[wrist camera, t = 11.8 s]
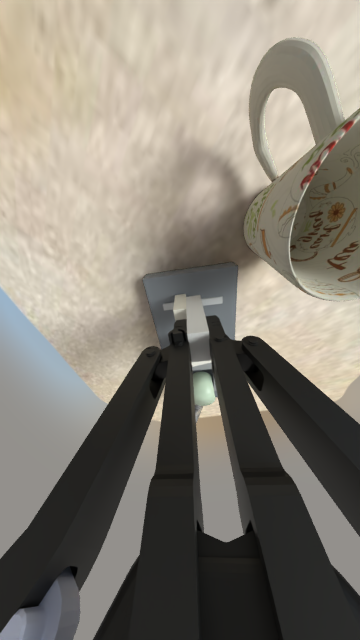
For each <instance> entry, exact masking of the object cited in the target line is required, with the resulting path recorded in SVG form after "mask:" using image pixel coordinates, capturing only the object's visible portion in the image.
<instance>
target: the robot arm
mask: <svg viewBox="0 0 360 640" xmlns="http://www.w3.org/2000/svg"><path fill="white" fill-rule="evenodd" d="M186 313H187V319H182V320H176V322H175V323H174V329H173V330H171V331H170V332H169V333H168V337H169V341H170V345H169V346H168V347H166V348H163V349H161V350H160V349H159V348H158V347H155V346H152V347H148V348H146V349H145V350H144V351H143V352H142V353H141V354H140V356H139V358H138V359H137V361H136V362H135V364H134V365H133V367H132V368H131V370H130V371H129V373H128V374H127V376H126V378H125V379H124V381H123V382H122V384H121V385H120V387H119V388H118V390H117V391H116V393H115V394H114V396H113V398H112V399H111V401H110V402H109V404H108V405H107V407H106V408H105V410H104V411H103V413H102V414H101V416H100V418H99V419H98V421H97V423H96V424H95V425H94V427H93V428H92V430H91V431H90V433H89V435H88V436H87V438H86V439H85V441H84V442H83V444H82V445H81V447H80V448H79V450H78V452H77V453H76V455H75V456H74V458H73V459H72V461H71V462H70V464H69V465H68V467H67V469H66V470H65V472H64V473H63V475H62V476H61V478H60V479H59V481H58V482H57V484H56V485H55V487H54V488H53V490H52V492H51V493H50V495H49V496H48V498H47V499H46V501H45V502H44V504H43V505H42V507H41V508H40V510H39V511H38V513H37V515H36V516H35V518H34V519H33V521H32V522H31V524H30V525H29V527H28V528H27V529H26V530H25V531H24V533H23V534H22V535H21V536H20V537H19V538H18V539H17V541H16V542H15V543H14V544H13V545H12V546H11V547H10V549H9V550H8V551H7V552H6V553H5V554H4V555H3V557H2V558H1V559H0V640H73V637H74V635H75V633H76V630H77V626H78V624H79V618H80V595H79V591H80V589H81V588H82V586H83V584H84V582H85V580H86V579H87V577H88V575H89V573H90V571H91V569H92V567H93V565H94V563H95V561H96V559H97V557H98V554H99V552H100V550H101V548H102V545H103V543H104V541H105V538H106V536H107V533H108V531H109V529H110V526H111V523H112V521H113V518H114V515H115V513H116V510H117V508H118V505H119V503H120V500H121V497H122V495H123V492H124V490H125V487H126V484H127V481H128V479H129V477H130V474H131V471H132V468H133V466H134V463H135V461H136V458H137V455H138V453H139V450H140V448H141V445H142V443H143V440H144V437H145V435H146V432H147V430H148V427H149V424H150V422H151V419H152V417H153V414H154V411H155V409H156V406H157V404H158V401H159V398H160V396H161V393H162V391H163V388H164V385H165V393H164V401H163V410H162V419H161V428H160V436H159V445H158V454H157V463H156V470H155V474H154V476H153V478H152V479H151V482H150V486H149V491H148V497H147V504H146V511H145V519H144V526H143V535H142V541H141V549H140V555H139V556H138V558H137V559H136V561H135V562H134V564H133V565H132V567H131V569H130V571H129V573H128V574H127V576H126V578H125V580H124V582H123V584H122V585H121V587H120V589H119V591H118V593H117V595H116V597H115V599H114V601H113V603H112V605H111V607H110V608H109V610H108V612H107V614H106V616H105V618H104V620H103V622H102V623H101V626H100V627H99V629H98V631H97V633H96V635H95V637H94V639H93V640H360V596H359V595H358V593H357V592H356V591H355V590H354V589H353V588H352V586H351V585H350V584H349V583H348V582H347V581H346V579H345V578H344V577H343V576H342V575H341V574H340V573H339V572H338V571H337V570H336V569H335V568H334V567H333V566H332V565H331V563H330V561H329V559H328V556H327V554H326V552H325V549H324V547H323V545H322V542H321V540H320V538H319V536H318V533H317V531H316V529H315V526H314V525H313V522H312V519H311V517H310V515H309V513H308V510H307V508H306V506H305V504H304V501H303V499H302V497H301V494H300V493H299V490H298V488H297V486H296V484H295V483H294V481H293V480H292V478H291V477H290V476H289V475H288V474H287V473H286V472H285V470H284V469H283V467H282V465H281V463H280V460H279V458H278V455H277V453H276V451H275V448H274V446H273V443H272V441H271V438H270V436H269V434H268V431H267V429H266V426H265V424H264V421H263V419H262V417H261V414H260V412H259V409H258V407H257V404H256V402H255V399H254V397H253V394H252V392H251V390H250V387H249V385H248V383H249V384H250V386H251V387H252V388H253V390H254V391H255V393H256V394H257V395H258V397H259V398H260V399H261V401H262V402H263V404H264V405H265V406H266V408H267V409H268V411H269V412H270V413H271V415H272V416H273V417H274V419H275V420H276V422H277V423H278V424H279V426H280V427H281V429H282V430H283V431H284V433H285V434H286V435H287V437H288V438H289V440H290V441H291V442H292V444H293V445H294V447H295V448H296V449H297V451H298V452H299V453H300V455H301V456H302V458H303V459H304V460H305V462H306V463H307V465H308V466H309V467H310V469H311V470H312V472H313V473H314V474H315V476H316V477H317V478H318V480H319V481H320V483H321V484H322V485H323V487H324V488H325V489H326V491H327V492H328V494H329V495H330V497H331V498H332V499H333V501H334V502H335V503H336V505H337V506H338V508H339V509H340V510H341V512H342V513H343V515H344V516H345V517H346V519H347V520H348V521H349V523H350V524H351V526H352V527H353V528H354V530H355V531H356V532H357V534H358V535H359V536H360V424H359V423H358V422H356V421H355V420H354V419H353V418H352V417H351V416H349V415H348V414H347V413H346V412H345V411H344V410H343V409H341V408H340V407H339V406H338V405H337V404H336V403H334V402H333V401H332V400H331V399H330V398H329V397H328V396H326V395H325V394H324V393H323V392H322V391H321V390H320V389H318V388H317V387H316V386H315V385H314V384H313V383H311V382H310V381H309V380H308V379H307V378H306V377H305V376H303V375H302V374H301V373H300V372H299V371H298V370H297V369H295V368H294V367H293V366H292V365H291V364H290V363H288V362H287V361H286V360H285V359H284V358H283V357H282V356H280V355H279V354H278V353H277V352H276V351H275V350H274V349H272V348H271V347H270V346H269V345H268V344H267V343H265V342H264V341H263V340H262V339H260V338H259V337H256V336H246V337H244V338H243V339H242V341H236V340H232V339H230V338H229V337H228V335H226V334H225V332H224V329H223V327H222V325H221V322H220V319H219V317H217V316H216V315H213V316H205V313H204V309H203V305H202V301H201V296H200V295H196V296H189V297H186ZM210 360H211V364H212V373H213V375H214V380H215V385H216V390H217V395H218V400H219V405H220V410H221V416H222V420H223V426H224V431H225V436H226V441H227V446H228V451H229V456H230V461H231V466H232V471H233V476H234V481H235V486H236V491H237V498H238V506H239V512H240V518H241V522H242V528H243V533H244V535H243V536H241V537H239V538H236V539H234V540H232V541H230V542H222V541H220V540H218V539H216V538H214V537H211V536H209V535H207V534H205V533H204V527H203V514H202V503H201V494H200V479H199V464H198V449H197V432H196V417H195V401H194V386H193V370H192V362H199V361H210ZM247 381H248V382H247ZM165 383H166V384H165Z"/></svg>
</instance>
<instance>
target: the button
mask: <svg viewBox="0 0 360 640" xmlns="http://www.w3.org/2000/svg"><path fill="white" fill-rule="evenodd" d="M193 386H194V401H195V404H196V405H200V406H206V405H210V404H212V403H213V402H214V401H215V394H214V388H213V383H212V377H211V375H210V374H209V373H207V372H202V371H200V372H196V373H194V374H193Z"/></svg>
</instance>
